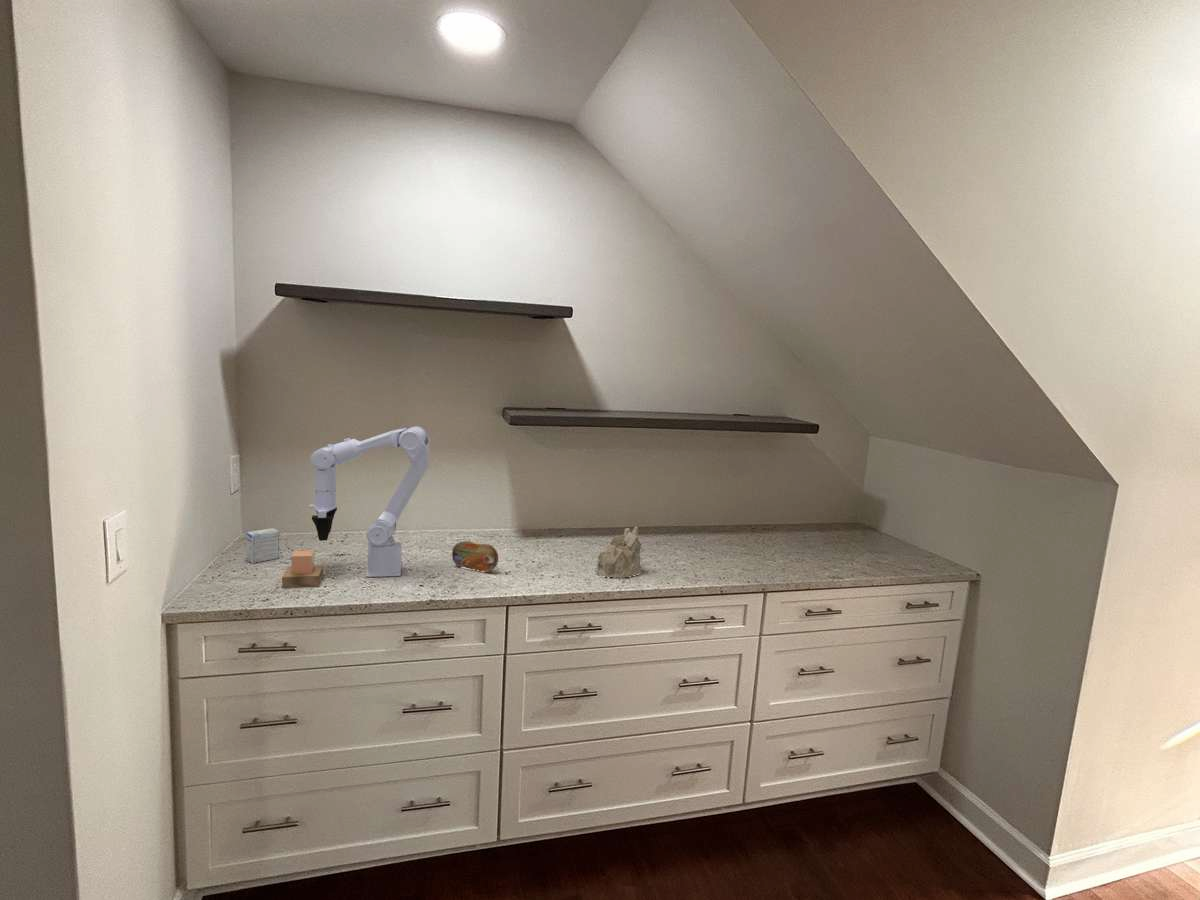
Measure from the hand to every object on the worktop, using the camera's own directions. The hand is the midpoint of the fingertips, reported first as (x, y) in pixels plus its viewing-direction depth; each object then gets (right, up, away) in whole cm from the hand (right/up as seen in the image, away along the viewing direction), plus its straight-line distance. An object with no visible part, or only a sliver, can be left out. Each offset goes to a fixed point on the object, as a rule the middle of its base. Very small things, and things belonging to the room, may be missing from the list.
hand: (324, 536), depth 181 cm
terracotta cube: (-2, -8, -8) cm, 12 cm away
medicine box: (-22, -8, +8) cm, 25 cm away
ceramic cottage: (+84, -13, +19) cm, 87 cm away
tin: (+41, -12, +11) cm, 44 cm away
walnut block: (-3, -11, -8) cm, 14 cm away
